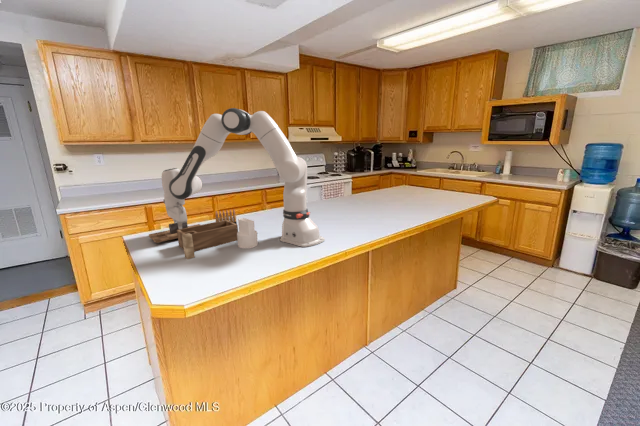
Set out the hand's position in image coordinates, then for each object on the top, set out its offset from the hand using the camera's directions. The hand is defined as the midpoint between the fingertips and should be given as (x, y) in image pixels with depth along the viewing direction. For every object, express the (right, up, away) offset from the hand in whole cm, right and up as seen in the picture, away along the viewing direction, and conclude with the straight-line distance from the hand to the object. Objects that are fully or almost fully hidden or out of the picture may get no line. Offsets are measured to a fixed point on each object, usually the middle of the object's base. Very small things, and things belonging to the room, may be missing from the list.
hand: (178, 228), depth 149 cm
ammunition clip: (+22, -3, +8) cm, 24 cm away
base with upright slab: (+38, -7, -13) cm, 41 cm away
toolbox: (+19, -7, -10) cm, 22 cm away
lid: (0, -3, +1) cm, 3 cm away
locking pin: (+17, -11, -26) cm, 33 cm away
